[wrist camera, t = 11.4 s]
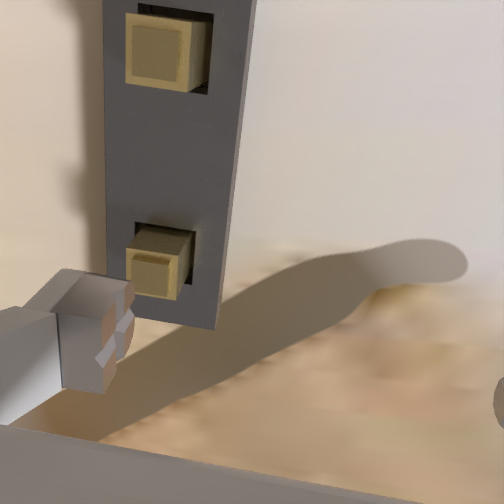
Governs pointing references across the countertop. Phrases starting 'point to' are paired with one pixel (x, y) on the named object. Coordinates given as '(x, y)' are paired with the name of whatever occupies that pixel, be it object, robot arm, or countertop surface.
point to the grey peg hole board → (176, 154)
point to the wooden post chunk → (160, 260)
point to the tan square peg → (167, 51)
